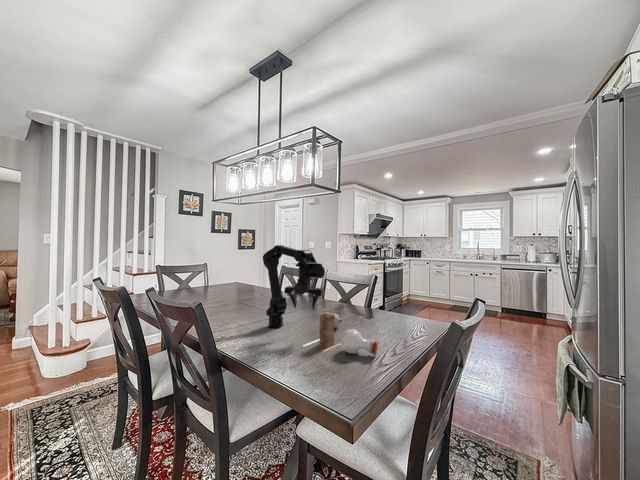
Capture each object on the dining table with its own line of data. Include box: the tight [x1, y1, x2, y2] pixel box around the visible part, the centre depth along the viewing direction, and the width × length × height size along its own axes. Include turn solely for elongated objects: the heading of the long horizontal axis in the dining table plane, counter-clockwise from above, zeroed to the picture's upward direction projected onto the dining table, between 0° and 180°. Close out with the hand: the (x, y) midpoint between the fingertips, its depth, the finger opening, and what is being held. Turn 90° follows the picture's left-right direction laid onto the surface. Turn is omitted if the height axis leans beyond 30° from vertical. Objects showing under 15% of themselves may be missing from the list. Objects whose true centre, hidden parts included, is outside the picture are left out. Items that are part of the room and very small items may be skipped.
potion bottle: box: [340, 328, 379, 358], centre depth 109 cm, size 9×10×15 cm
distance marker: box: [322, 342, 341, 353], centre depth 116 cm, size 14×1×1 cm, turn 138°
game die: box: [328, 311, 342, 330], centre depth 141 cm, size 9×8×10 cm
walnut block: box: [319, 312, 335, 348], centre depth 119 cm, size 5×5×14 cm
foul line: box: [301, 338, 320, 348], centre depth 123 cm, size 18×2×1 cm, turn 138°
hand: (304, 308), depth 130 cm, fingers open, 9 cm apart
